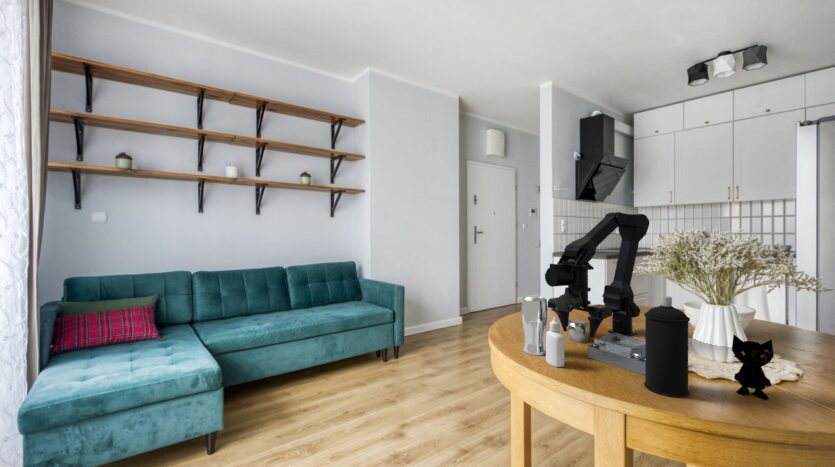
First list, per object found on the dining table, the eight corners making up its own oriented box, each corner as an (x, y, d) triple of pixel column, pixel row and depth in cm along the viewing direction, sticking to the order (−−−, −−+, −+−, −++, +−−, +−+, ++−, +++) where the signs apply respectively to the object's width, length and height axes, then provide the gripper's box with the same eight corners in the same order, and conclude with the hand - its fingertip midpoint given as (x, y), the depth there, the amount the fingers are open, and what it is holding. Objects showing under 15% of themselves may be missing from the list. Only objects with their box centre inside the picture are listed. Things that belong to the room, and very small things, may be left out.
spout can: (575, 336, 121) (575, 318, 121) (591, 340, 116) (591, 322, 116) (559, 340, 116) (559, 322, 116) (575, 345, 112) (575, 326, 112)
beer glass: (544, 348, 109) (544, 296, 109) (550, 356, 102) (550, 301, 102) (519, 347, 110) (519, 296, 110) (524, 355, 103) (523, 301, 103)
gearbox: (616, 347, 109) (616, 332, 109) (678, 364, 95) (678, 346, 95) (587, 357, 101) (587, 340, 101) (650, 377, 88) (650, 357, 88)
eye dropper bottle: (563, 360, 99) (563, 315, 99) (564, 368, 94) (564, 320, 93) (545, 359, 100) (545, 314, 100) (545, 366, 95) (545, 319, 95)
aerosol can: (691, 401, 76) (691, 302, 75) (643, 392, 80) (643, 298, 80) (688, 386, 83) (688, 295, 82) (644, 378, 87) (644, 292, 87)
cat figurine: (729, 394, 78) (730, 337, 78) (729, 384, 84) (730, 330, 83) (776, 404, 74) (777, 343, 73) (773, 392, 79) (774, 335, 79)
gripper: (536, 283, 120) (536, 332, 120) (590, 291, 104) (590, 347, 105) (558, 280, 126) (558, 326, 126) (613, 287, 110) (613, 340, 111)
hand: (578, 334), depth 117 cm, fingers open, 9 cm apart
